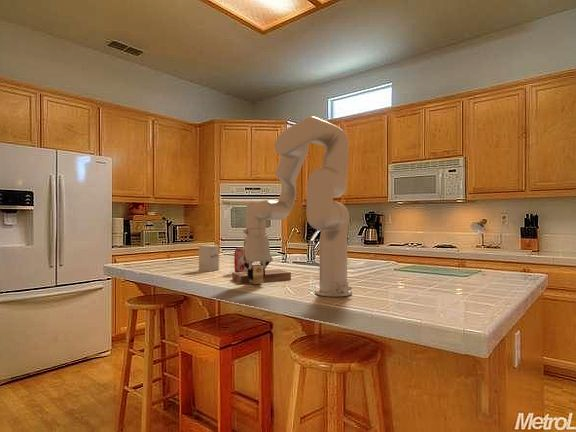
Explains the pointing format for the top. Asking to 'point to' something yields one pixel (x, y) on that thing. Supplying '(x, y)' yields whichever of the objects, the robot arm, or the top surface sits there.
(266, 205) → the robot arm
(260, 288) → the top surface
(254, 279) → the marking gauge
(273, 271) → the walnut plank
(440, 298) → the top surface
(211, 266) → the supplement box
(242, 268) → the soda can
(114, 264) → the top surface
